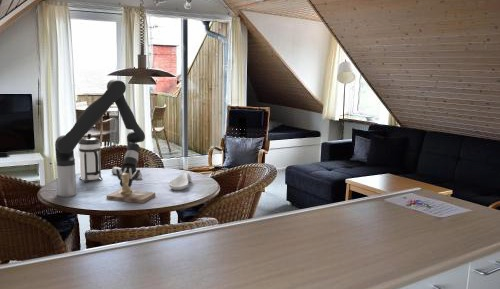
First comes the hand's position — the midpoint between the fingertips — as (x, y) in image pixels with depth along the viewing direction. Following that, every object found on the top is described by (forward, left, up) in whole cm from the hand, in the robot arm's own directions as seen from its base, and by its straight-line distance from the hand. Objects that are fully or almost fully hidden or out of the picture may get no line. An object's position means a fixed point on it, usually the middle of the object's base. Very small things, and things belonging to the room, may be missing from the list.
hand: (125, 185), depth 230 cm
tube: (-24, +42, -7) cm, 49 cm away
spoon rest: (+19, +32, -7) cm, 38 cm away
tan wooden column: (-1, +2, -5) cm, 5 cm away
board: (+3, +1, -7) cm, 7 cm away
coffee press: (-39, +25, -7) cm, 47 cm away
